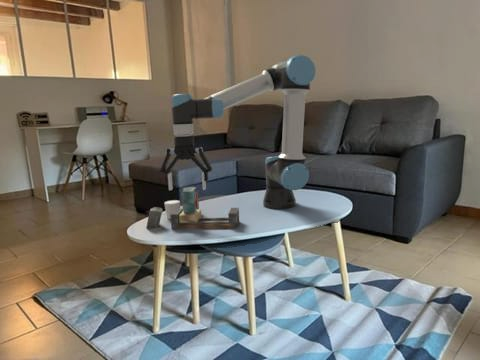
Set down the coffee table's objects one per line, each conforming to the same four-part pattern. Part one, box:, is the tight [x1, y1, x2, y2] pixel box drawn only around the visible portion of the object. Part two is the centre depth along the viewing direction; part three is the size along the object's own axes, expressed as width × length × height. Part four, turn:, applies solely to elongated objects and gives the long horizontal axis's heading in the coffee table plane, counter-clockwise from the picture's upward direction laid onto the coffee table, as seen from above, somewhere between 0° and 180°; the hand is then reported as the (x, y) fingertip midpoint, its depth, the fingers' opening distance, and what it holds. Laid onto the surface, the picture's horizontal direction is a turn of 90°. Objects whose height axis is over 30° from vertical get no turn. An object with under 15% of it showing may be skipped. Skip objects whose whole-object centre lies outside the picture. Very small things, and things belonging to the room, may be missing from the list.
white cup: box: [164, 199, 181, 220], centre depth 158 cm, size 7×7×7 cm
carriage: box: [179, 189, 203, 223], centre depth 144 cm, size 7×8×12 cm
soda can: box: [181, 186, 200, 211], centre depth 161 cm, size 7×7×12 cm
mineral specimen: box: [146, 206, 164, 229], centre depth 147 cm, size 7×9×8 cm
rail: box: [170, 207, 240, 230], centre depth 145 cm, size 26×8×6 cm, turn 83°
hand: (187, 189), depth 143 cm, fingers open, 13 cm apart
